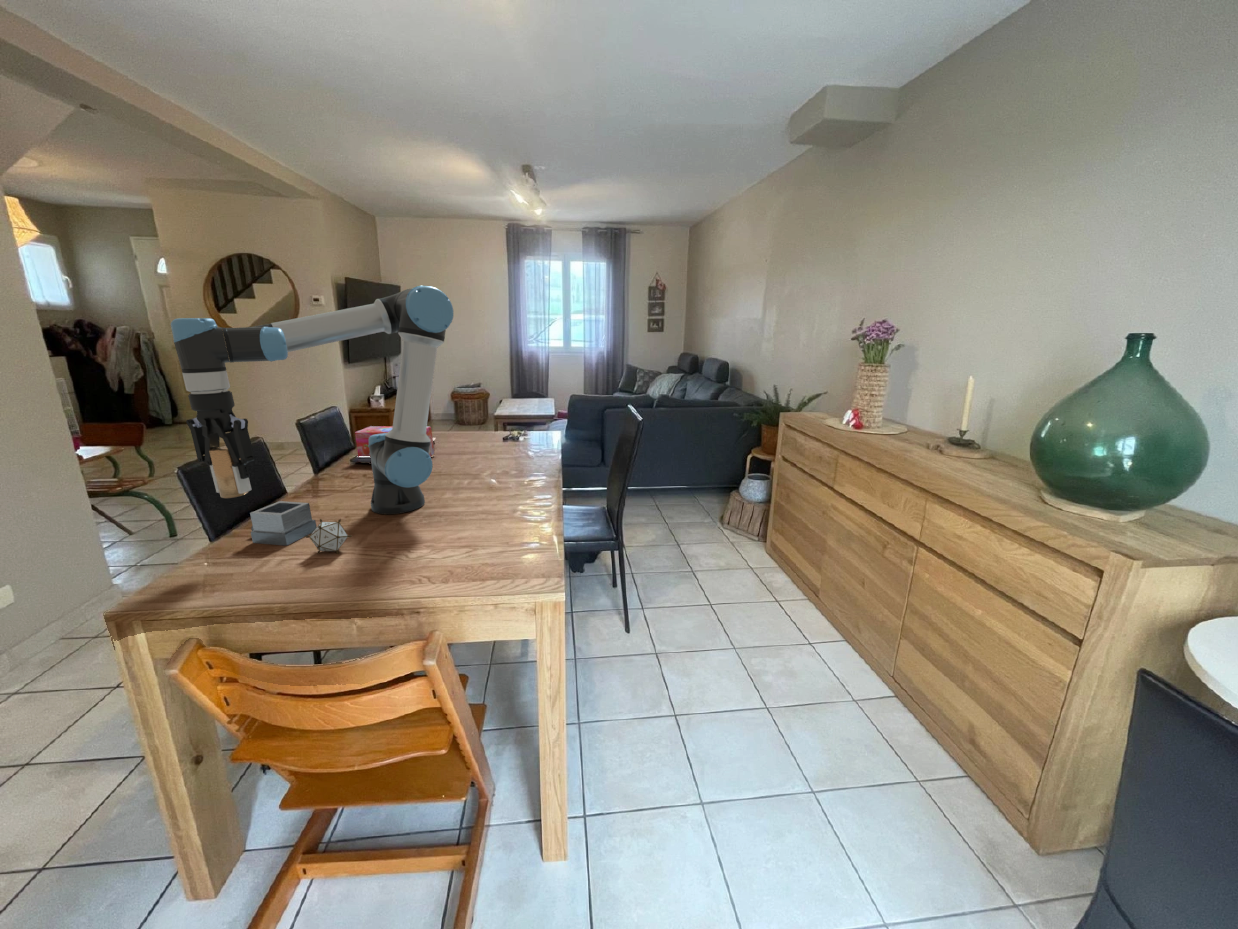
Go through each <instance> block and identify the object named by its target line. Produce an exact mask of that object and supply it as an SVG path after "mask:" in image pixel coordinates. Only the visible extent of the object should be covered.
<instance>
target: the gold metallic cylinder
mask: <svg viewBox="0 0 1238 929" xmlns="http://www.w3.org/2000/svg"><path fill="white" fill-rule="evenodd" d="M209 453H210V457H211V461H212V465H213V469H214V473H215V477H216V481H217V485H218V489H219V493H218V494H219V495H220V498H221V499H233V498H237V497H241V496H242V497H243V496H245V495H247V494H249V491H247V492H245V493H242V494H239V493H238V489H237V485H236V481H235V477H234V473H233V468H232V465H234V464H235V463H234V461H233V459H232V457H231V455H230V453H229V451H228V449H227V447H226V445H224V446H220V447H218V448H214V449H210V450H209Z"/></svg>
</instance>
